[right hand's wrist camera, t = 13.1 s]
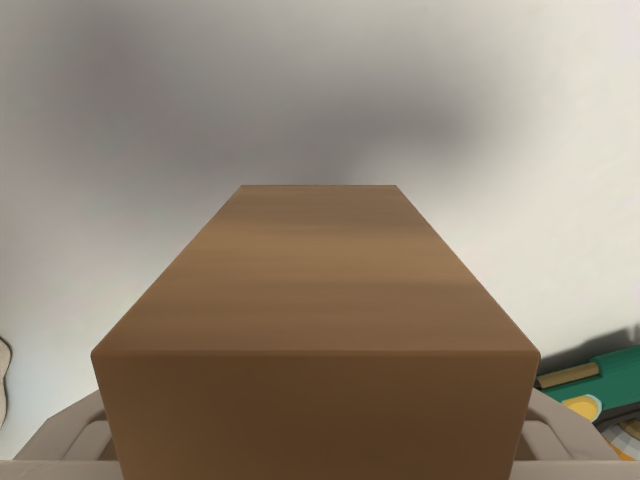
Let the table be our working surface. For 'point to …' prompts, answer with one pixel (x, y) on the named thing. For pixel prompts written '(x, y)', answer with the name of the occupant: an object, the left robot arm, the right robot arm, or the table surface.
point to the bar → (316, 350)
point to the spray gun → (603, 396)
